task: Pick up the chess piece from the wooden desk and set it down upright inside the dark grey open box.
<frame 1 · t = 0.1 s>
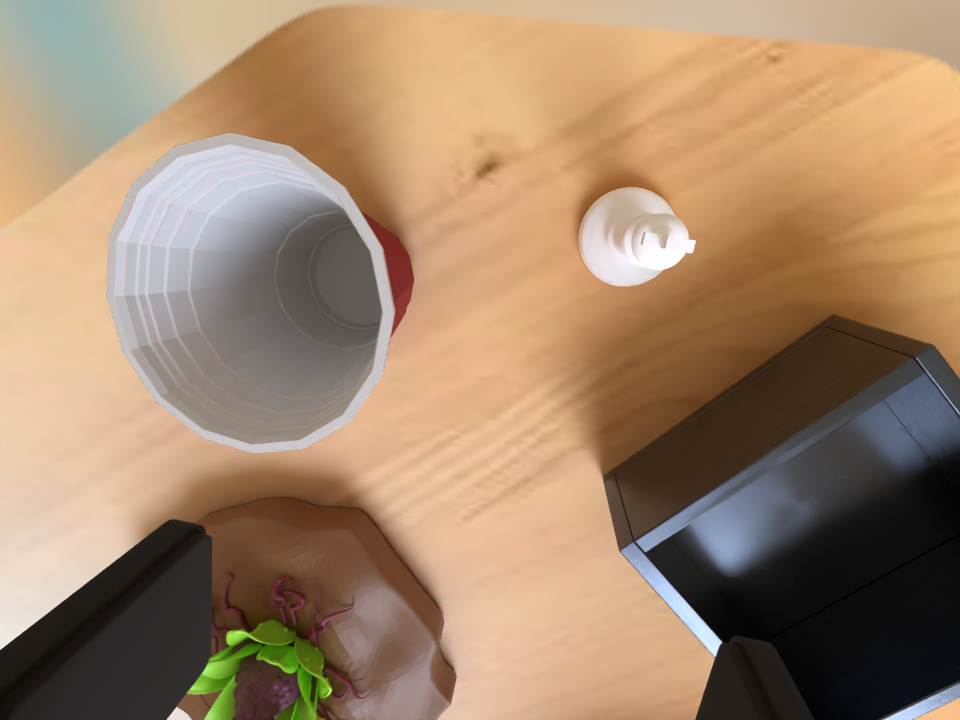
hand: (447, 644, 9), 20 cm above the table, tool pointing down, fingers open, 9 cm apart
chess piece: (626, 237, 27), on the table
dark grey open box: (790, 497, 29), on the table
plant: (301, 624, 35), on the table
plastic cup: (361, 274, 29), on the table
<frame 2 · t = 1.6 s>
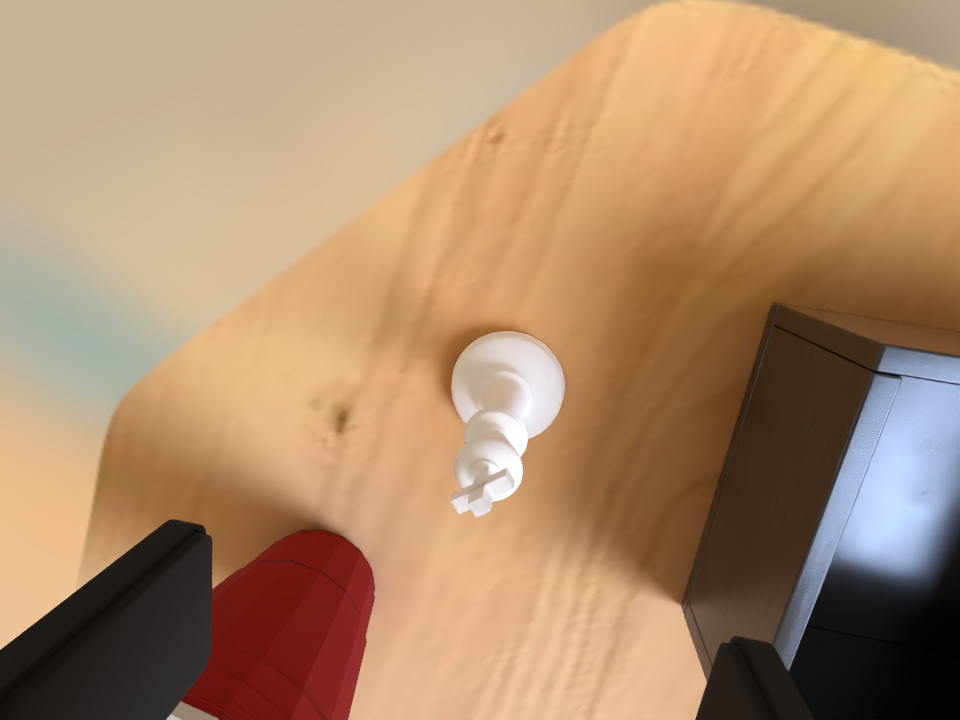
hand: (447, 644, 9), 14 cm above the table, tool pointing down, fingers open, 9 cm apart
chess piece: (507, 384, 23), on the table
dark grey open box: (899, 500, 22), on the table
plastic cup: (319, 575, 27), on the table
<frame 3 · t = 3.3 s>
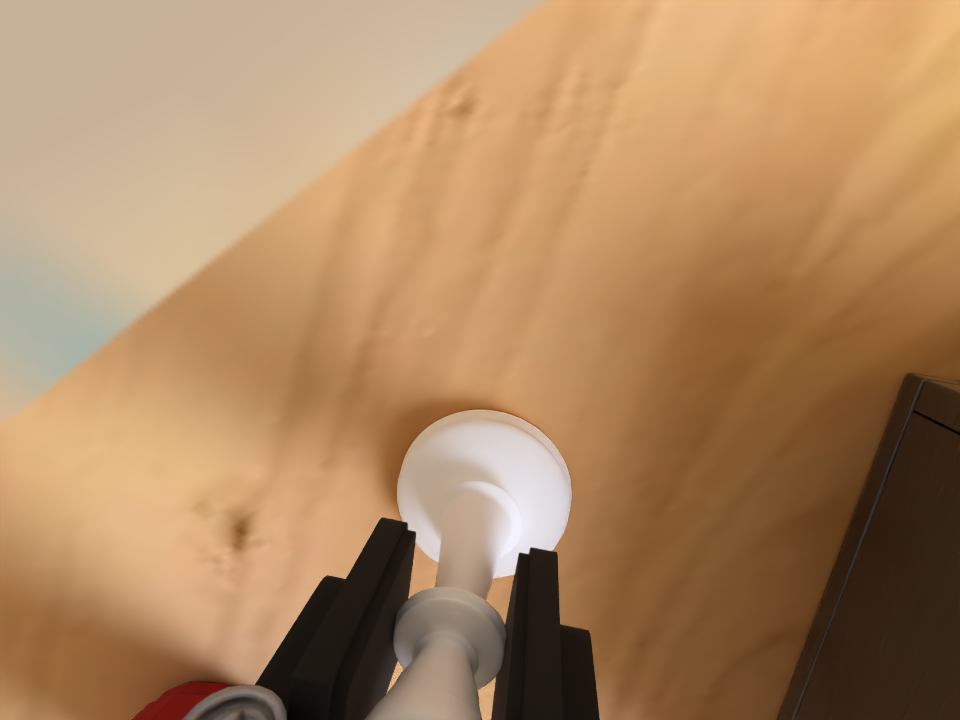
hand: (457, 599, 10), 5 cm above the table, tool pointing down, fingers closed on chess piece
chess piece: (485, 487, 15), on the table, touching gripper
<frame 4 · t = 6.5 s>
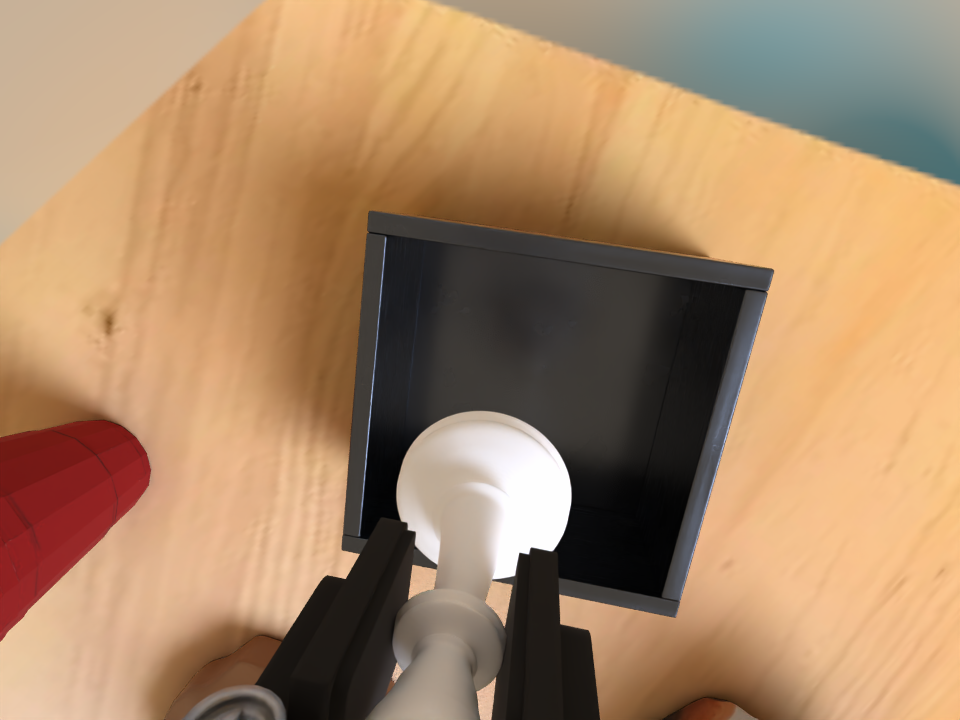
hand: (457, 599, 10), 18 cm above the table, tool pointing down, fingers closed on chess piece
chess piece: (484, 488, 15), point 13 cm above the table, touching gripper
dark grey open box: (535, 377, 27), on the table
plastic cup: (108, 461, 32), on the table
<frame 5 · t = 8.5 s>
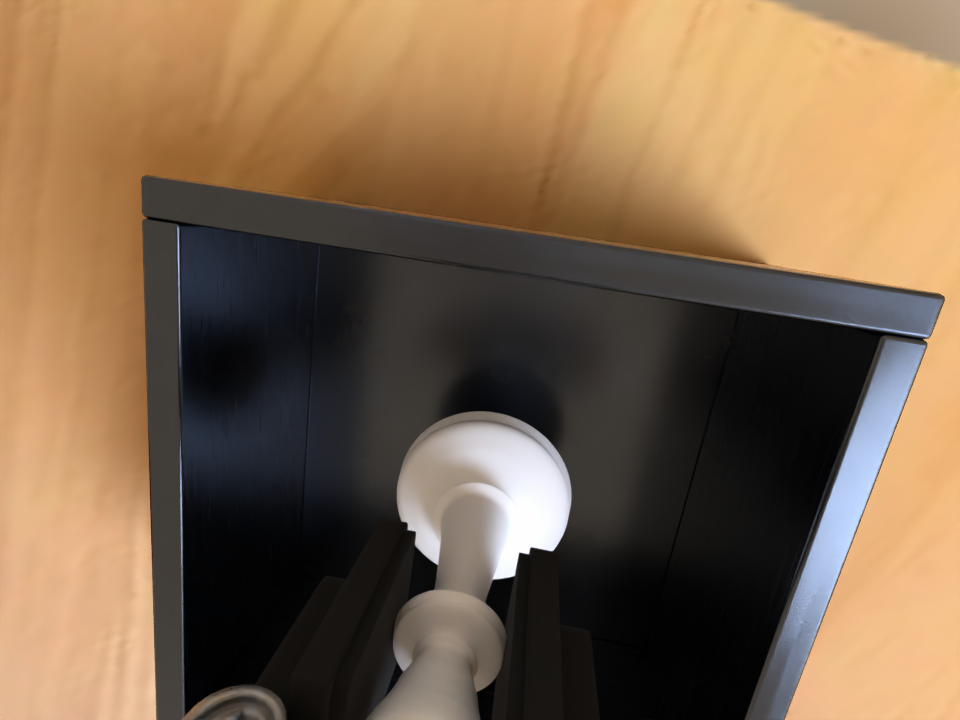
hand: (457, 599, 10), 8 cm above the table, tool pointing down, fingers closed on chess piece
chess piece: (484, 488, 15), point 3 cm above the table, touching gripper
dark grey open box: (494, 443, 18), on the table
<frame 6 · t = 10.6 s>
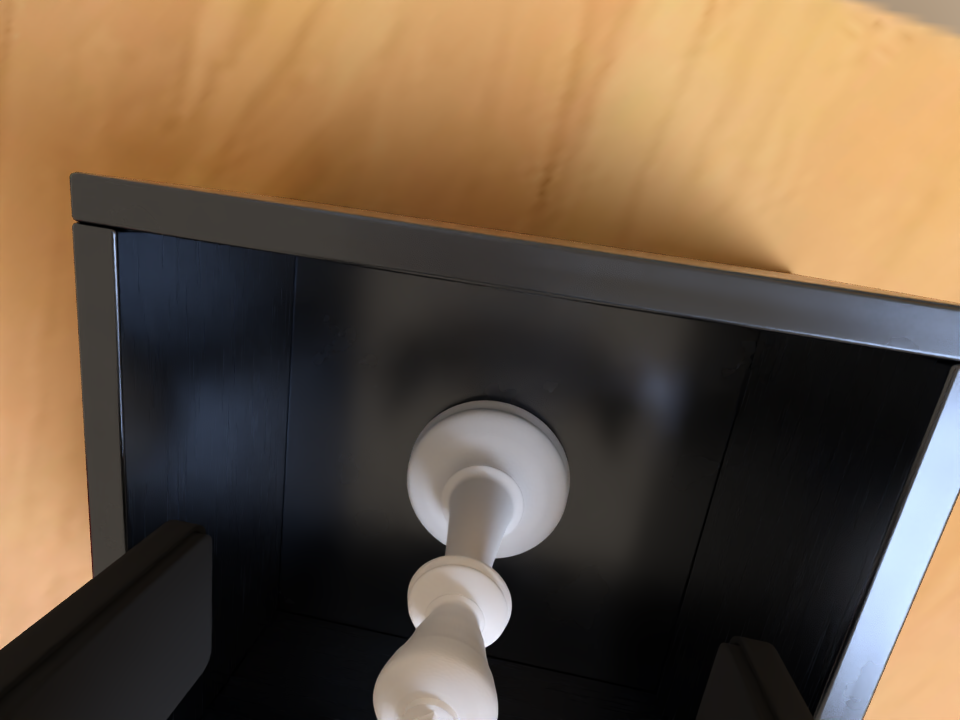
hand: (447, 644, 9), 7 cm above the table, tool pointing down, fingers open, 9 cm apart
chess piece: (488, 473, 16), resting on dark grey open box
dark grey open box: (490, 468, 16), on the table
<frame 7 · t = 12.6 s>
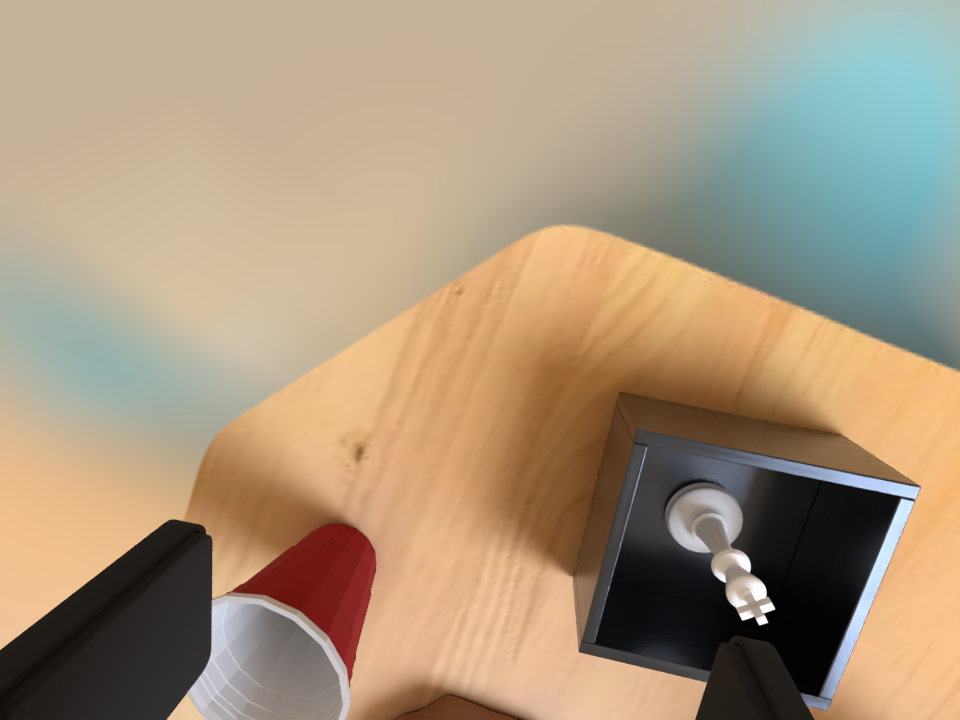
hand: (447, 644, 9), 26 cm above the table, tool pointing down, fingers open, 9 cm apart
chess piece: (701, 514, 35), resting on dark grey open box
dark grey open box: (699, 511, 36), on the table
plastic cup: (339, 555, 40), on the table
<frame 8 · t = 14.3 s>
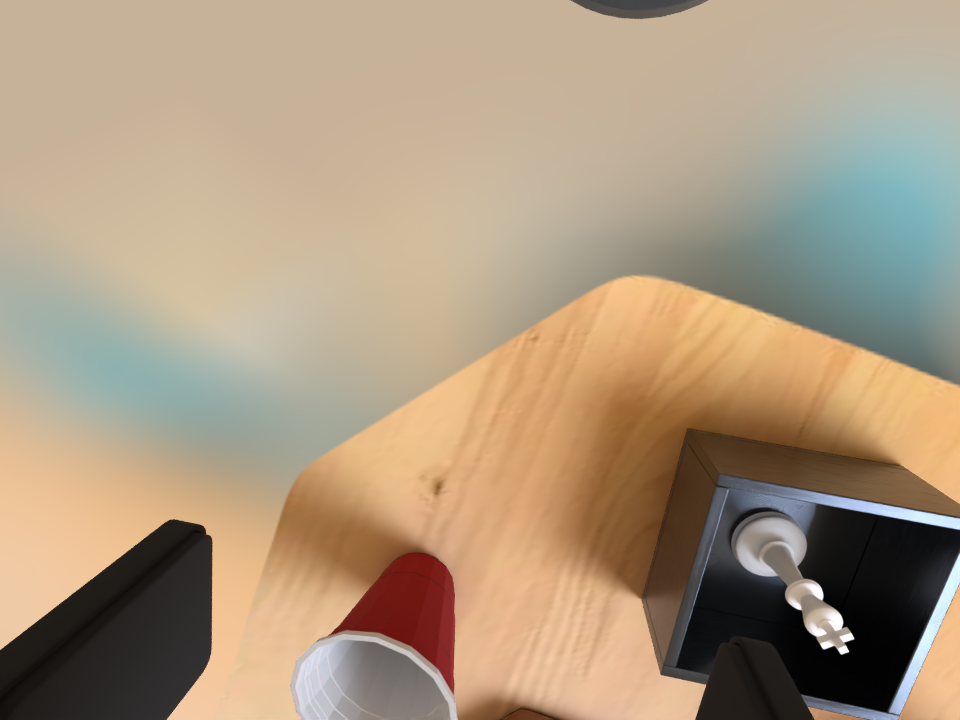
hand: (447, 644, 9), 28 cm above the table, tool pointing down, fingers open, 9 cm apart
chess piece: (765, 540, 38), resting on dark grey open box
dark grey open box: (763, 537, 38), on the table
plastic cup: (417, 581, 43), on the table
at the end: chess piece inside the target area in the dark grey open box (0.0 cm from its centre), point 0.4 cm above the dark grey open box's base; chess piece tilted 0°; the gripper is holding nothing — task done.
